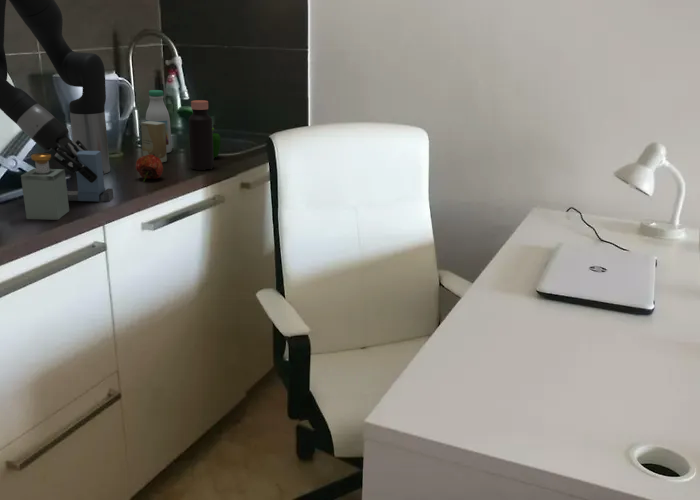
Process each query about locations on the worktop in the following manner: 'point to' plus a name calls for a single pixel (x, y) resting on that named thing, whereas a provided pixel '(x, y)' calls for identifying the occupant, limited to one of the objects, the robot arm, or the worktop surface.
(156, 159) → the red round fruit
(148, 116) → the milk bottle
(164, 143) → the skincare box
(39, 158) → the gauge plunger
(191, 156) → the vinegar
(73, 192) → the rail
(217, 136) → the bell pepper
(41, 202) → the grey upright block
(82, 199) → the upright slate-blue block
